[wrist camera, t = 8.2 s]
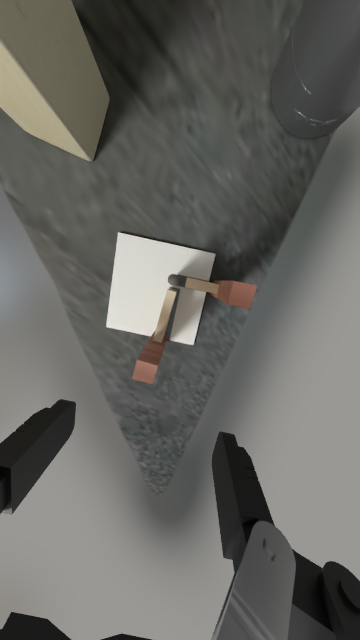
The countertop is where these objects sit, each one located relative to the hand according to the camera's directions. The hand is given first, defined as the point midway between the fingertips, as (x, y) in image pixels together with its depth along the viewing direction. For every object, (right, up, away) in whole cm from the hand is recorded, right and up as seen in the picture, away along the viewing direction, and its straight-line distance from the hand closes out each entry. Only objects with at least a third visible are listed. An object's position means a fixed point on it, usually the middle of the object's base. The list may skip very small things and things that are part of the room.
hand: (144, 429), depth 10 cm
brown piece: (+4, +10, +13) cm, 18 cm away
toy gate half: (0, +6, +14) cm, 15 cm away
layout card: (-1, +10, +14) cm, 17 cm away
